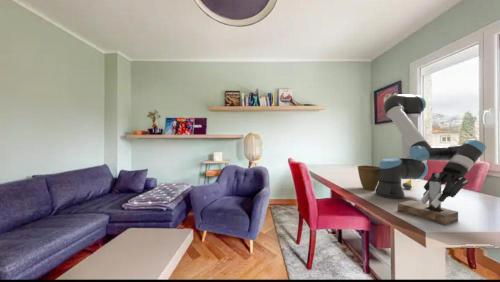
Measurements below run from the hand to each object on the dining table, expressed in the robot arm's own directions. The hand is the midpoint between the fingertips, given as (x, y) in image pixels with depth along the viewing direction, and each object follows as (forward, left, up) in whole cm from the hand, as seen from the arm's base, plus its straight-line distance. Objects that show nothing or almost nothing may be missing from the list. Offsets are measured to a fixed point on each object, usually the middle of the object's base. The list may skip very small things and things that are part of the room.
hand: (428, 203), depth 90 cm
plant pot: (-45, +26, -7) cm, 52 cm away
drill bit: (-34, +53, -7) cm, 63 cm away
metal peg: (+1, +4, -4) cm, 6 cm away
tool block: (-2, +4, -7) cm, 8 cm away
